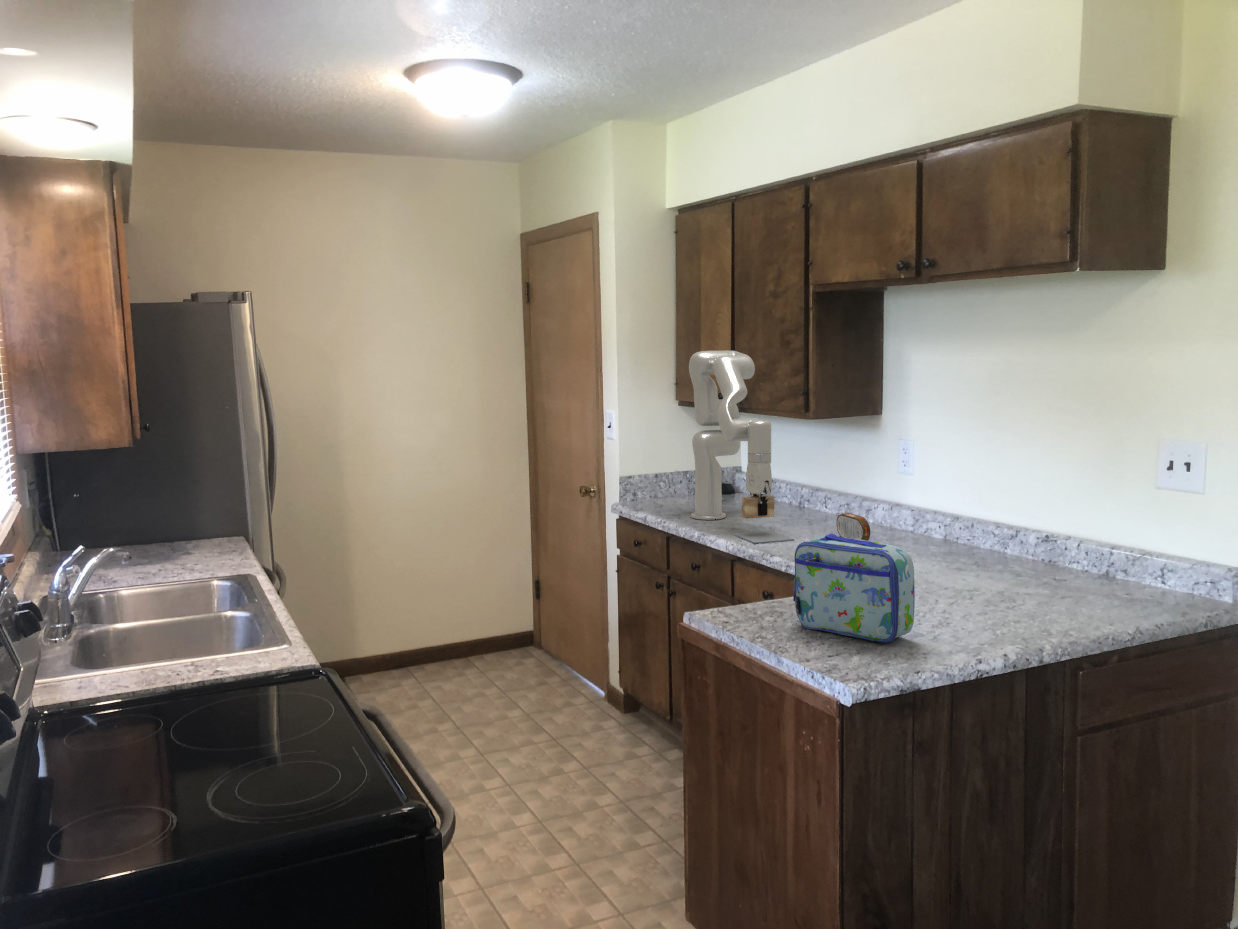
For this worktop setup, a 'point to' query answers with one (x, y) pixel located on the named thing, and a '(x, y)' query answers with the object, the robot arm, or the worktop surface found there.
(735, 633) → the worktop surface
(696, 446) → the robot arm
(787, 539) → the mat
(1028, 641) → the worktop surface
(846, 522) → the tin
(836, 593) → the lunch box
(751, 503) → the block
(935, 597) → the worktop surface
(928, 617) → the worktop surface
